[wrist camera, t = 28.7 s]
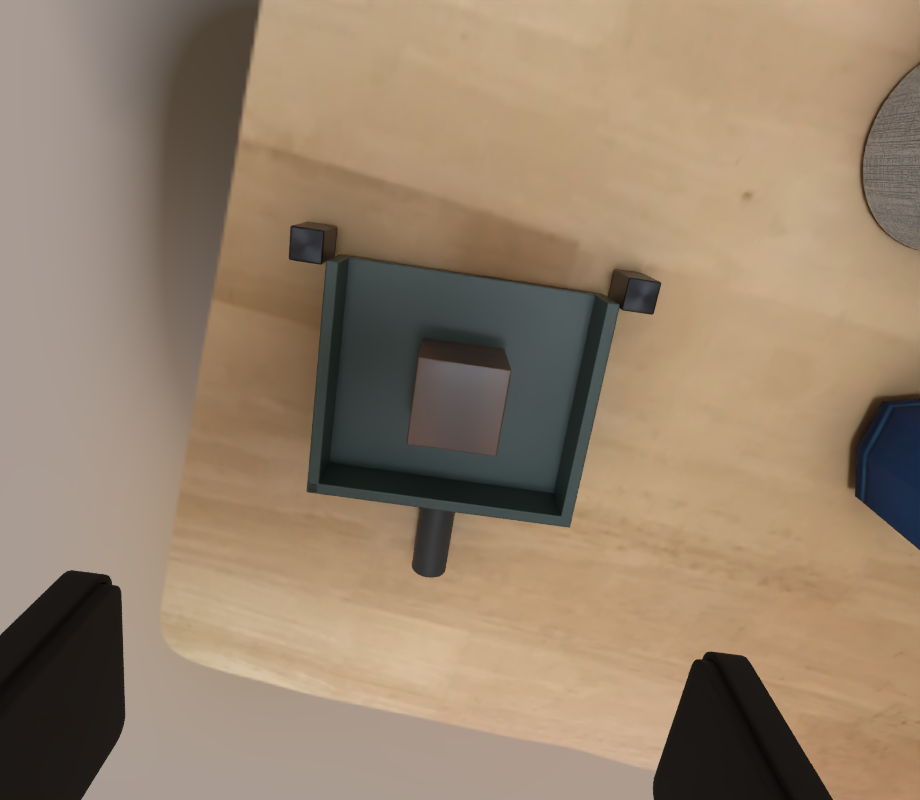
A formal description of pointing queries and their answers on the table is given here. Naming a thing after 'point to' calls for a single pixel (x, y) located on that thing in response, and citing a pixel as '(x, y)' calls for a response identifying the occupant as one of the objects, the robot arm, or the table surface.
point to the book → (892, 467)
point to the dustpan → (392, 383)
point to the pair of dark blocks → (625, 290)
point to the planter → (896, 163)
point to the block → (459, 397)
